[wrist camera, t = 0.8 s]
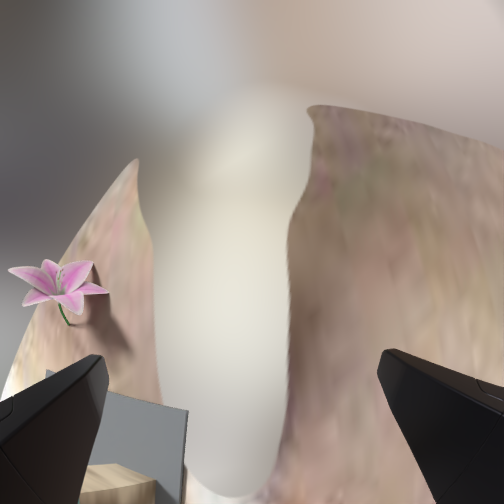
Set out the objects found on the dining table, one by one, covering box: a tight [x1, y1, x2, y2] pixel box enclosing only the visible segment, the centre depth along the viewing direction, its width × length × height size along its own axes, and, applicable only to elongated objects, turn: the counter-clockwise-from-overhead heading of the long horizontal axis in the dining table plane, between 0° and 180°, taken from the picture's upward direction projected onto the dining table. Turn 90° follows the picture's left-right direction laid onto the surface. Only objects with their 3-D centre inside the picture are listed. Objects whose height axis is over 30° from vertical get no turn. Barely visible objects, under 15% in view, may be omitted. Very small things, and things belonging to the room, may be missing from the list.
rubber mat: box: [45, 370, 188, 504], centre depth 21 cm, size 20×22×1 cm
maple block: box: [78, 463, 156, 504], centre depth 15 cm, size 5×5×10 cm
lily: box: [8, 259, 109, 325], centre depth 30 cm, size 12×12×10 cm
